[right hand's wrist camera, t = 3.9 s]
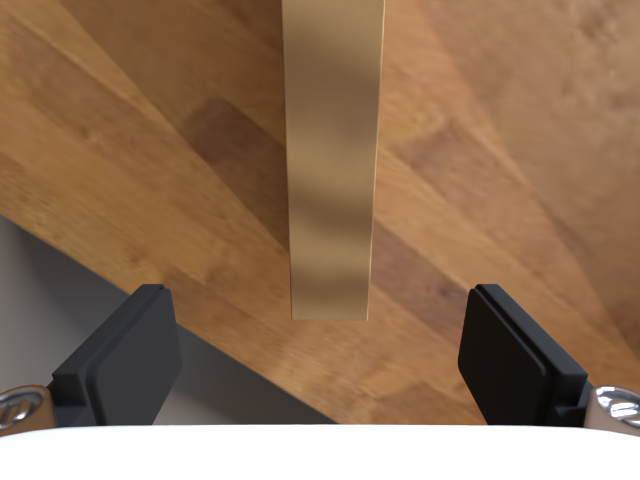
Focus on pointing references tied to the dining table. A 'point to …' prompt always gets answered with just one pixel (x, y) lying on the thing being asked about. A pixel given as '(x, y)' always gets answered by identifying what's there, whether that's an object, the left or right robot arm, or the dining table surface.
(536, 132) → the dining table surface
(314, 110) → the beam
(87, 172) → the dining table surface
